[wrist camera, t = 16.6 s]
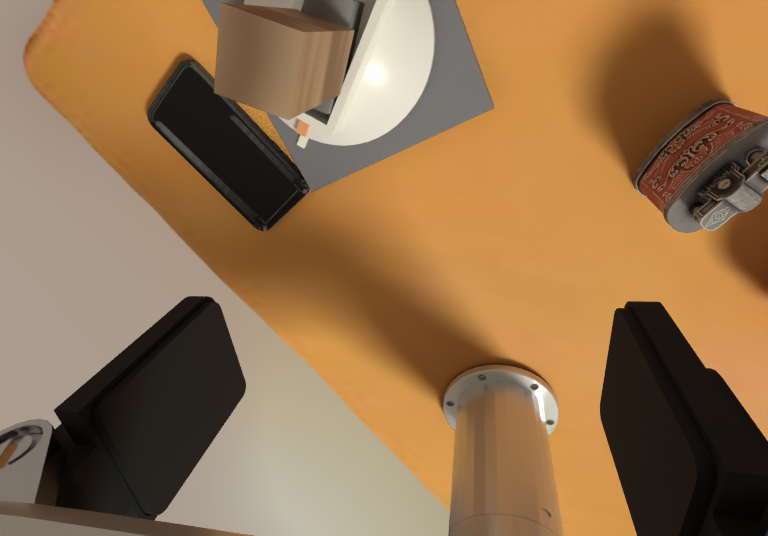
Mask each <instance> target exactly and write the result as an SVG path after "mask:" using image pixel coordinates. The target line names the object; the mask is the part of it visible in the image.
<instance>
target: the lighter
mask: <svg viewBox="0 0 768 536" xmlns="http://www.w3.org/2000/svg"><path fill="white" fill-rule="evenodd" d="M633 185H634V187H635V189H636V190H637V191H638V192H639V193H640V194H641V195H643V196H645V197H647V198H648V199H649V200H650V201H651V202H652V203H653V204H654V205H655V206H656V207H657V208H658V209H659V210H660V211H661V212H662V213H663V215H664V218H665V220H666V221H667V223H668V224H669V225H670V226H671V227H672V228H673V229H675V230H677V231H679V232H684V233H690V232H695V231H698V230H700V229H702V228H705V229H706V230H708V231H713V230H716V229H718V228H719V227H720V226H722V225H723V224H724V223H725V222H726V221H728V220H729V219H730V218H731V217H733V216H734V215H735V214H740V213H746V212H749V211H751V210H753V209H754V208H755V207H756V206H757V205H759V204H760V203H761V201H762V199H763V194H764V192H765V191H764V190H766V189H767V188H768V117H767V116H764V115H761V114H758V113H754V112H751V111H748V110H745V109H742V108H739V107H738V106H737V105H736V104H734V103H732V102H730V101H726V100H721V99H716V100H711V101H709V102H707V103H705V104H704V105H702V106H701V107H700V108H698V109H697V110H696V111H694V112H693V113H692V114H690V115H689V116H688V117H686V118H685V119H684V120H683V121H681V122H680V123H679V124H678V125H677V126H676V127H675V128H674V129H673V130H672V131H670V132H669V133H668V134H667V135H666V136H665V137H664V138H663V139H662V140H661V141H660V142H659V144H658V145H657V146H656V147H655V148H654V149H653V150H652V152H651V153H650V154H649V155H648V156H647V157H646V159H645V160H644V162H643V163H642V164H641V166H640V167H639V169H638V170H637V171H636V173H635V175H634V177H633Z"/></svg>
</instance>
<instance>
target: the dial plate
mask: <svg viewBox="0 0 768 536" xmlns="http://www.w3.org/2000/svg"><path fill="white" fill-rule="evenodd" d="M202 1H203V3H204V5H205V6H206V8H207V10H208V12H209V13H210V15H211V17H212V19H213V20H214V22H215V24H216V26H217V27H218V29H219V15H220V2H221V3H233V4H244V0H202ZM429 1H430V4H431V7H432V11H433V17H434V22H435V36H436V42H435V55H434V61H433V67H432V70H431V73H430V77H429V80H428V82H427V85H426V87H425V89H424V91H423V93H422V95H421V97H420V98H419V100H418V102H417V103H416V104H415V106H414V107H413V108H412V110H411V111H410V112H409V113H408V115H407V116H406V117H405V118H404V119H403V120H402V121H401V122H400V123H399V124H398V125H397V126H395V127H394V128H393V129H391V130H390V131H389V132H387V133H386V134H384V135H382V136H380V137H379V138H376V139H374V140H371V141H369V142H365V143H361V144H357V145H347V146H342V145H331V144H325V143H321V142H318V141H315V140H312V139H310V138H308V137H306V136H305V137H304V136H302V135H300V134H298V133H297V132H296V131H295V130H294V129H292V128H291V127H289V126H288V125H287V124H286V123H285V122H283V121H282V120H281V119H280V118H279V117H278V116H276V115H273V114H270V113H267V112H266V113H267V114H268V116H269V118H270V120H271V121H272V123H273V125H274V127H275V128H276V130H277V132H278V134H279V135H280V137H281V139H282V141H283V142H284V144H285V146H286V148H287V149H288V151H289V153H290V155H291V156H292V158H293V160H294V161H295V163H296V165H297V167H298V168H299V170H300V172H301V174H302V175H303V177H304V179H305V181H306V182H307V184H308V186H309V188H310V189H311V191H312V192H313V191H316V190H318V189H320V188H322V187H324V186H326V185H329V184H331V183H333V182H335V181H337V180H339V179H342V178H344V177H346V176H348V175H350V174H352V173H355V172H357V171H359V170H361V169H363V168H365V167H368V166H370V165H372V164H374V163H376V162H378V161H381V160H383V159H385V158H387V157H389V156H391V155H394V154H396V153H398V152H400V151H402V150H404V149H407V148H409V147H411V146H413V145H415V144H417V143H420V142H422V141H424V140H426V139H428V138H430V137H433V136H435V135H437V134H439V133H441V132H443V131H446V130H448V129H450V128H452V127H454V126H456V125H459V124H461V123H463V122H465V121H467V120H469V119H472V118H474V117H476V116H478V115H480V114H482V113H485V112H487V111H489V110H491V109H493V108H494V105H493V102H492V99H491V97H490V94H489V91H488V89H487V86H486V83H485V80H484V78H483V75H482V72H481V69H480V67H479V64H478V61H477V58H476V56H475V53H474V50H473V47H472V45H471V42H470V39H469V36H468V34H467V31H466V28H465V25H464V23H463V20H462V17H461V14H460V12H459V9H458V6H457V4H456V1H455V0H429Z"/></svg>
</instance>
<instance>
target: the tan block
mask: <svg viewBox="0 0 768 536" xmlns="http://www.w3.org/2000/svg"><path fill="white" fill-rule="evenodd" d="M363 8H364V2H361V1H358V0H305V1H304V7H303V12H302V11H299V10H297V9H290V8H278V7H267V6H256V5H244V4H233V3H221V2H220V15H219V29H218V42H217V56H216V70H215V83H214V93H215V94H218V95H221V96H223V97H226V98H229V99H232V100H234V101H237V102H240V103H243V104H245V105H248V106H251V107H254V108H256V109H259V110H262V111H265V112H267V113H270V114H273V115H276V116H278V117H281V118H284V119H287V120H290V119H292V118H294V117H296V116H298V115H300V114H302V113H304V112H306V111H308V110H310V109H315V110H318V111H320V112H323V113H326V114H330V113H331V112H332V110H333V108H334V105H335V103H336V100H337V98H338V96H339V95H340V93H341V88H342V85H343V83H344V80H345V78H346V75H347V73H348V70H349V68H350V64H351V60H352V55H353V51H354V47H355V42H356V38H357V34H358V29H359V25H360V21H361V16H362V12H363Z"/></svg>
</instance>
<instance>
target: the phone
mask: <svg viewBox="0 0 768 536" xmlns="http://www.w3.org/2000/svg"><path fill="white" fill-rule="evenodd" d="M214 83H215V79H214V78H213V77H212V76H211V75H210V74H209V73H208V72H207V71H206V70H205V68H204V67H203V66H202V65H201V64H199V63H198V62H196V61H194V60H186V61H182V62H181V63H180V64H179V65H178V66H177V68H176V69H175V71H174V72H173V74H172V75H171V77H170V78H169V80H168V81H167V83H166V84H165V85H164V87H163V88H162V90H161V91H160V93H159V94H158V96H157V97H156V99H155V100H154V102H153V103H152V105H151V106H150V108H149V109H148V112H147V116H148V120H149V122H150V124H151V125H152V127H153V128H154V129H155V130H156V131H157V132H158V133H159V134H160V135H161V136H162V137H163V138H164V139H165V140H166V141H168V142H169V143H170V144H171V145H172V146H173V147H174V148H175V149H176V150H177V151H178V152H179V153H180V154H181V155H182V156H183V157H184V158H185V159H186V160H187V161H188V162H189V163H190V164H191V165H192V166H193V167H194V168H195V169H196V170H197V171H198V172H199V173H200V174H201V175H202V176H203V177H204V178H205V179H206V180H207V181H208V182H209V183H210V184H211V185H212V186H213V187H214V188H215V189H216V190H217V191H218V192H219V193H220V194H221V195H222V196H223V197H224V198H225V199H226V200H227V201H228V202H229V203H230V204H231V205H232V206H233V207H234V208H235V209H236V210H237V211H238V212H240V213H241V214H242V215H243V216H244V217H245V218H246V219H247V220H248V221H249V222H250V223H251V224H252V225H253V226H254V227H255V228H256V229H258V230H260V231H267V230H268V229H270V228H271V227H272V226H273V225H274V224H275V223H276V222H277V221H278V220H279V219H281V218H282V217H283V216H284V215H285V214H286V213H287V212H288V211H289V210H290V209H291V208H292V207H293V206H294V205H296V204H297V203H298V202H299V201H300V200H301V199H302V198H303V197H304V196H305V195H306V194H307V193H308V192H309V189H310V188H309V186H308V184H307V182H306V181H305V179H304V177H303V175H302V174H301V172H300V170H299V169H298V168H297V167H296V166H295V165H294V164H293V163H292V161H291V160H290V159H289V158H288V157H287V156H286V155H285V154H284V153H283V152H282V151H281V149H280V148H279V147H278V146H277V145H276V144H275V143H274V142H273V141H272V140H271V139H270V138H269V137H268V136H267V135H266V134H265V133H264V132H263V130H262V129H261V128H260V127H259V126H258V125H257V124H256V123H255V122H254V121H253V120H252V119H251V118H250V117H249V115H248V114H247V113H246V112H245V111H244V110H243V109H242V108H241V107H240V106H239V105H238V104H237V103H236V102H235V101H234V100H232V99H229V98H226V97H223V96H221V95H218V94H215V93H214Z"/></svg>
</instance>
